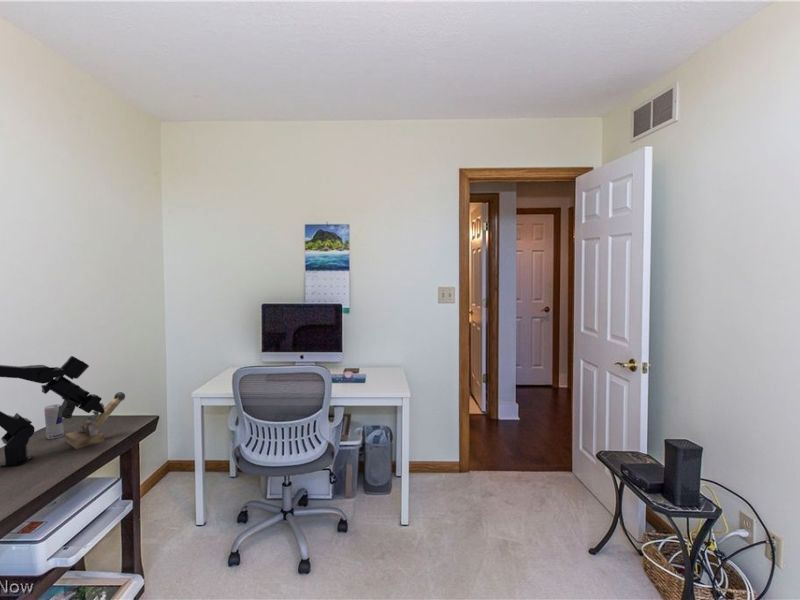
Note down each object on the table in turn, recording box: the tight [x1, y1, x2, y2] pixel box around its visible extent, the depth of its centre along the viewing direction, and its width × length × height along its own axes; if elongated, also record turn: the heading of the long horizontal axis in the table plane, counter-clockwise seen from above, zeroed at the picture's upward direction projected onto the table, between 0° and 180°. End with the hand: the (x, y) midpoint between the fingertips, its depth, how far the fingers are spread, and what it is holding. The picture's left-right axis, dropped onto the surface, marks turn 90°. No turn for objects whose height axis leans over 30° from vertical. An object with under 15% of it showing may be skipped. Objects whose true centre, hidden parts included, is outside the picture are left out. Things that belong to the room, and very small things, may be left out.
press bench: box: [64, 420, 105, 450], centre depth 173 cm, size 9×12×7 cm
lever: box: [87, 391, 126, 431], centre depth 176 cm, size 4×4×17 cm
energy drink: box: [43, 404, 65, 440], centre depth 179 cm, size 5×5×12 cm
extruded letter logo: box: [86, 402, 105, 422], centre depth 198 cm, size 25×2×6 cm, turn 19°
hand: (103, 412), depth 175 cm, fingers closed, pressing on lever
